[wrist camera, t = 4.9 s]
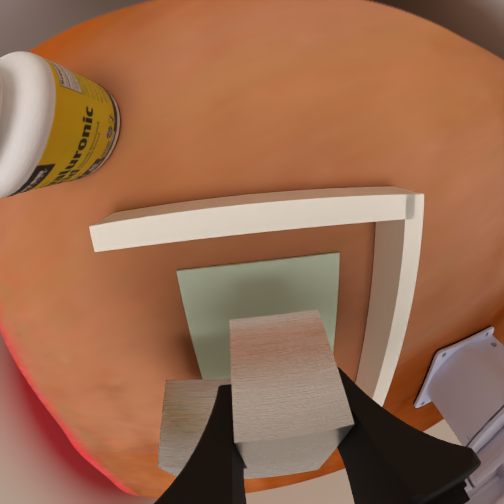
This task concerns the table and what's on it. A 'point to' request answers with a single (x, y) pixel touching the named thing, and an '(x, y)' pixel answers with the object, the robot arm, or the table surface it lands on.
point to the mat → (254, 300)
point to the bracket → (266, 399)
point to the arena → (303, 216)
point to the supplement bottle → (51, 124)
